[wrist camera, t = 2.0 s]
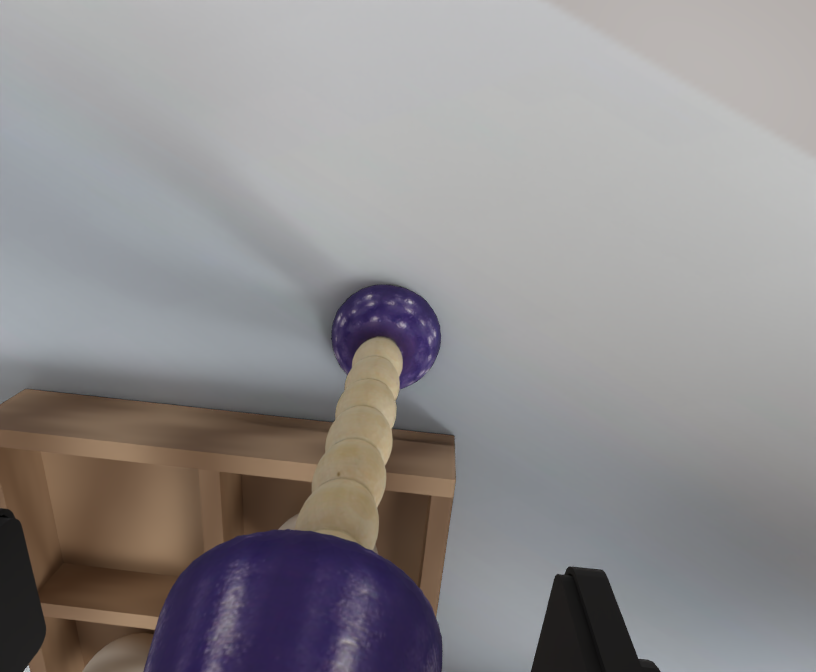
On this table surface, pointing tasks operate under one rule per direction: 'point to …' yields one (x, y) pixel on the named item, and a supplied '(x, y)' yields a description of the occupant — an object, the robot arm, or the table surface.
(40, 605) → the robot arm
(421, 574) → the organizer
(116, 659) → the egg
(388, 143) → the table surface
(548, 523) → the table surface
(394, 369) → the toy lamp
